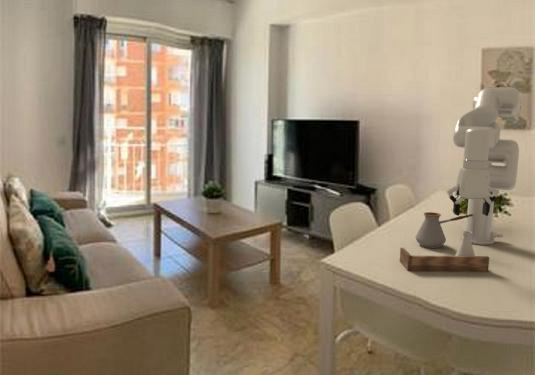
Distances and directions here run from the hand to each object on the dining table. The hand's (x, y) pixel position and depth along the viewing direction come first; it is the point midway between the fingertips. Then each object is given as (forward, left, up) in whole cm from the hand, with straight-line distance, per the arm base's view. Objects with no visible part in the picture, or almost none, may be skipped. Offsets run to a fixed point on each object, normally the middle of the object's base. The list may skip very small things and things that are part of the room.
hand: (470, 214), depth 161 cm
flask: (+1, 0, -16) cm, 16 cm away
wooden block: (+9, +1, -18) cm, 20 cm away
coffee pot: (+1, -21, -18) cm, 28 cm away
